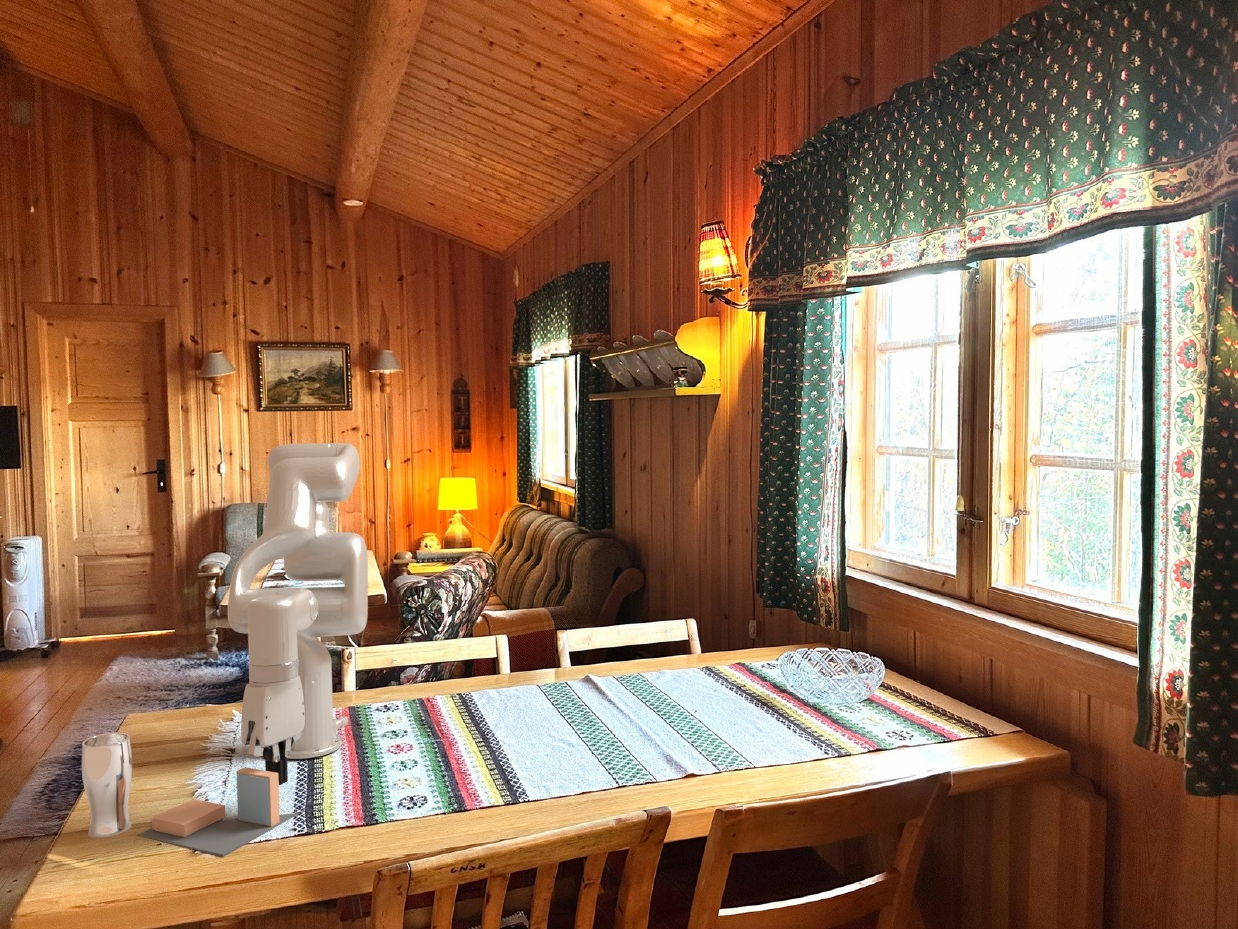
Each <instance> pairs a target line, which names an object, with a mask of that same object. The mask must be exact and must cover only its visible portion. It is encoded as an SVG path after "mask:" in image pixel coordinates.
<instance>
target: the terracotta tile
mask: <svg viewBox="0 0 1238 929" xmlns="http://www.w3.org/2000/svg"><path fill="white" fill-rule="evenodd" d="M224 817H226V805H225V804H220V803H215V802H210V801H205V800H199V799H196V798H193V799H190V800H188V801H186V802H184V803H182V804H181V803H180V804H179V805H177V806H174V807H173V808H170V809H168V810H166V811H163V812H162V813H160V814H157V815H154V816H152V817H151V828H152V829H154V830H155V831H159V832H164V833H168V834H173V835H177V836H182V837H186V836H188V835H190V834H192V833H194V832H196V831H198V830H200V829H202V828H204V827H206V826H208V825H211V824H213V823H215V822H217V821H221V820H223V818H224Z"/></svg>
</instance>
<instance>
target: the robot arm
mask: <svg viewBox="0 0 1238 929" xmlns="http://www.w3.org/2000/svg"><path fill="white" fill-rule="evenodd" d="M267 457H268V458H267V466H268V470H269V474H270V475H269V481H268V482H269V484H268V493H267V499H266V500H267V501H266V502H267V503H266V510H265V519H264V528H263V530H264V531H263V533H262V534H261V535H260V537H258V538H257V539H256V540H255V541H254V542H252V543H251V545H249V546H248V548H247V549H246V550H245V551H244V552H243V554H242V555H241V556H240V558H238V560H237V562H236V564H235V567H234V569H233V571H232V574H231V578H230V586H229V592H228V602H227V620H228V624H229V626H230V627H231V629H232V630H233V631H234V632H237V633H239V634H247V637H248V638H247V641H248V674H249V675H248V679H249V683H247V684H246V685H245V688H244V692H243V698H242V708H241V720H240V723H241V728H240V730H241V731H240V732H241V734H240V739H241V744H243V745H245V746H248V753H247V754H248V756H250V757H251V756H252V757H261V760H263V761H264V764H265V765H264V768H265V769H264V771H270V772H275V773H278V779H279V786H281V785H283V784H286V783H288V780H289V779H288V777H289V776H288V774H289V773H288V771H289V770H288V769H289V768H288V759H293V760H302V759H303V760H304V759H311V758H317V757H322V756H325V755H328V754H331V753H333V752H335V751H337V750H339V749H340V748H341V747H342V744H343V743H342V742H343V740H342V737H341V736H340V735H338V734H337V732H338V731H339V729H341V728H344V727H346V726H348V724H349V719H348V717H347V716H344V715H343V716H341V717H339V718H337V719H335V718H334V715H333V714H334V711H333V710H334V709H333V705H334V704H333V678H332V677H333V674H332V673H333V671H332V670H333V669H332V668H333V667H332V658H331V654H330V652H329V650H328V649H327V647H326V646H325V645H324V644H323V643H322V641H321V640H320V639H319V638H323V637H337V636H338V637H339V636H353V635H354V636H355V635H358V634H360V633H363V631H364V630H365V628H366V626H367V623H368V616H369V614H368V612H369V611H368V609H369V606H368V605H369V597H368V596H369V593H368V592H369V590H368V588H369V586H368V585H369V581H368V580H369V579H368V577H369V575H368V574H369V571H368V570H369V569H368V568H369V563H368V562H369V561H368V549H367V545H366V544H367V543H366V542H365V540H364V538H363V537H362V535H360V534H358V533H357V532H356V533H355V532H349V531H347V532H346V531H344V532H343V531H342V532H341V531H340V532H330V509H329V506H328V504H327V503H342V502H344V501H347V500H348V499H349V498H350V497H351V495H352V493H353V491H354V488H355V485H356V482H357V480H358V477H359V475H360V470H361V469H360V468H361V461H360V454H359V451H358V449H357V448H356V447H355V446H354V445H353V444H351V443H346V442H325V443H324V442H323V443H322V442H321V443H320V442H319V443H317V442H313V443H311V442H310V443H307V442H305V443H289V444H288V443H286V444H282V445H278V446H275V447H274V448H272V449H271V450H270V451H269V453H268V456H267ZM281 558H283V568H284V572H285V576H286V577H287V578H289V580H292V581H297V582H323V581H324V582H327V581H330V582H331V581H341V582H342V583H343V584H344V585H343V586H324V587H323V586H316V587H269V588H267V587H265V588H264V587H263V588H251V585H252V583H253V580H254V579H255V577H256V575H258V573H260V571H261V570H262V569H264V568H266V567H267V566H268V565H269V564H271V563H273V562H275V561H277V560H279V559H281Z"/></svg>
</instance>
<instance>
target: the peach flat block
mask: <svg viewBox="0 0 1238 929" xmlns="http://www.w3.org/2000/svg"><path fill="white" fill-rule="evenodd" d="M236 795H237V798H236V800H237V802H236V803H237V819H238V820H241V821H246V822H250V823H255V824H260V825H265V826H270V827H272V826H274V825H276V824H278V823H279V822H280V815H281V814H280V785H279V779H278V773H275V772H270V771H265V769H264V770H263V769H257V768H251V767H246V766H245V767H242V768H240V769H238V770H236Z"/></svg>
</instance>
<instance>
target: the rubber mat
mask: <svg viewBox="0 0 1238 929" xmlns="http://www.w3.org/2000/svg"><path fill="white" fill-rule="evenodd" d="M299 814H300V812H297V813H296V812H295V813H286V814H280V822H279V823H278V824H276V825H274V826H272V827H270V826H265V825H260V824H255V823H250V822H246V821H241V820H238V818H233V819H224V820H223V819H221V820H219V821H217V822H215V823H213V824H211V825H208V826H206V827H204V828H202V829H200V830H198V831H196V832H194V833H192V834H190V835H188V836H186V837H182V836H177V835H173V834H168V833H164V832H159V831H155V830H154V829H152V827H151V828H149V829H147V830H145V831H143V832H140V833H138V834H137V836H138V837H141V838H146V839H150V840H154V841H158V842H163V843H165V844H170V845H174V846H178V847H181V848H182V847H183V848H186V849H189V850H194V851H197V852H202V853H205V854H209V855H212V856H213V855H214V856H217V857H221V858H225V857H226V856H228V855H229V854H232V853H234V852H235V851H236V850H238V849H240V848H242V847H245V845H247V844H249V843H250V842H253V841H254V840H256V839H258V838H259V837H261V836H263V835H264V834H266V833H268V832H270V831H271V830H273V829H275V828H276V827H277V828H278V826H280V825H282V824H284V823H286V822H287V821H289V820H291V819H292V818H294V817H296V816H297V815H299Z"/></svg>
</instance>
